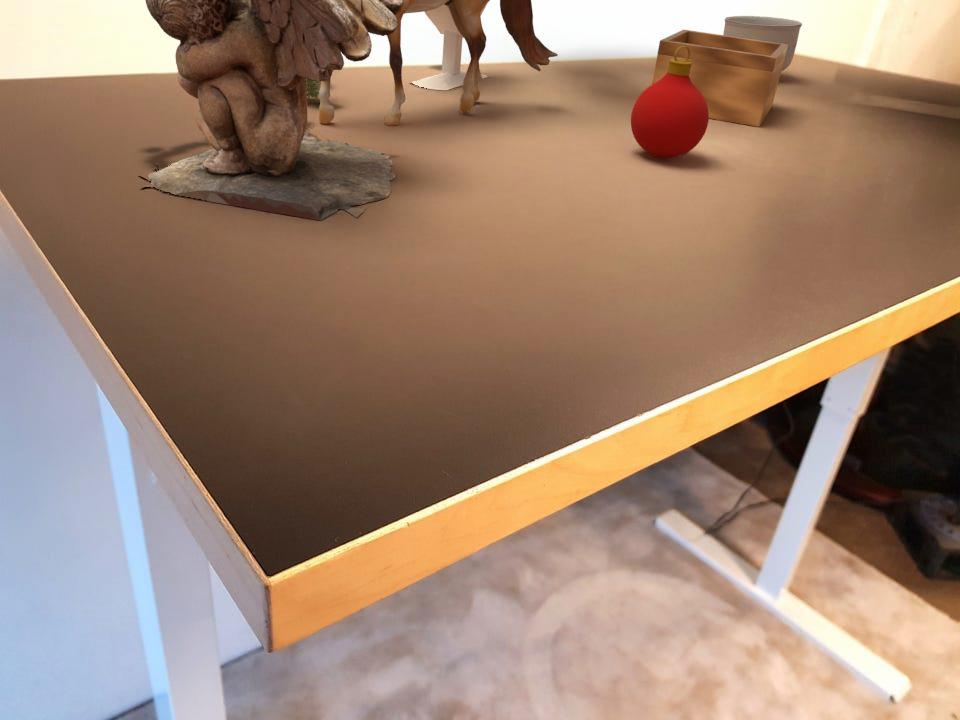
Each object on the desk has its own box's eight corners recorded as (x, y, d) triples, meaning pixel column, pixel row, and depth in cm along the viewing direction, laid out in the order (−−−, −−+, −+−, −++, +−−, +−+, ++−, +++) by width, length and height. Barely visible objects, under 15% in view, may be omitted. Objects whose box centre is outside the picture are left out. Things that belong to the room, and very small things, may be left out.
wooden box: (771, 107, 100) (788, 44, 97) (758, 127, 90) (776, 57, 86) (671, 90, 105) (683, 29, 101) (647, 107, 94) (659, 40, 90)
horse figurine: (316, 143, 70) (311, -131, 59) (270, 122, 74) (258, -135, 64) (552, 109, 89) (579, -102, 79) (504, 94, 94) (523, -107, 83)
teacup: (776, 86, 114) (791, 26, 109) (703, 72, 118) (716, 14, 114) (799, 75, 124) (814, 20, 120) (732, 63, 129) (744, 9, 125)
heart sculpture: (437, 93, 91) (447, -86, 82) (400, 85, 93) (406, -90, 84) (495, 74, 104) (509, -83, 94) (461, 68, 105) (472, -87, 96)
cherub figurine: (243, 129, 72) (228, -98, 63) (432, 160, 68) (445, -76, 59) (115, 184, 57) (70, -104, 48) (348, 228, 53) (348, -73, 44)
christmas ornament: (673, 145, 80) (695, 39, 75) (714, 166, 74) (740, 54, 69) (611, 146, 77) (629, 37, 72) (648, 169, 72) (671, 52, 67)
